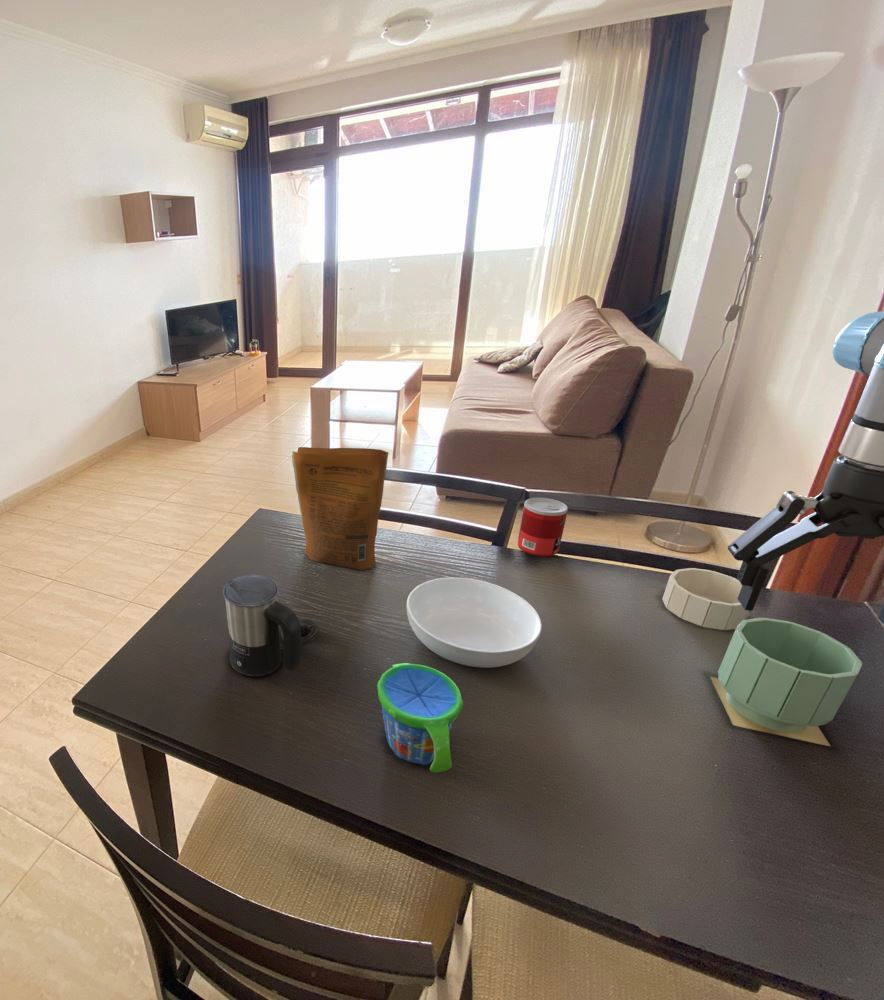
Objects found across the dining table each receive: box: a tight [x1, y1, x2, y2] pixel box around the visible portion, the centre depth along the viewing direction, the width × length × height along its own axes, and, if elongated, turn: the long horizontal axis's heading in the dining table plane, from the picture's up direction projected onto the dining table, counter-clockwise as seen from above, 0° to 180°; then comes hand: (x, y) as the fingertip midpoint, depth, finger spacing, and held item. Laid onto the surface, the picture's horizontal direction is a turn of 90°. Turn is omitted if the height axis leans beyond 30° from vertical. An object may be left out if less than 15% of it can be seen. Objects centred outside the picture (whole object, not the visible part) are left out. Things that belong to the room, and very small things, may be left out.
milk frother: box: [222, 574, 321, 678], centre depth 93 cm, size 14×16×15 cm
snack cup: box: [376, 662, 464, 774], centre depth 74 cm, size 16×10×10 cm
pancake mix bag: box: [291, 446, 389, 571], centre depth 114 cm, size 7×19×28 cm, turn 62°
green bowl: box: [717, 617, 863, 733], centre depth 74 cm, size 12×12×12 cm
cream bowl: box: [662, 567, 752, 631], centre depth 95 cm, size 11×11×6 cm
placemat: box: [709, 676, 831, 747], centre depth 77 cm, size 10×10×1 cm
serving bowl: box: [406, 577, 543, 669], centre depth 93 cm, size 21×21×7 cm
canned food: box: [517, 497, 569, 558], centre depth 116 cm, size 8×8×11 cm
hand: (813, 614), depth 69 cm, fingers open, 13 cm apart
